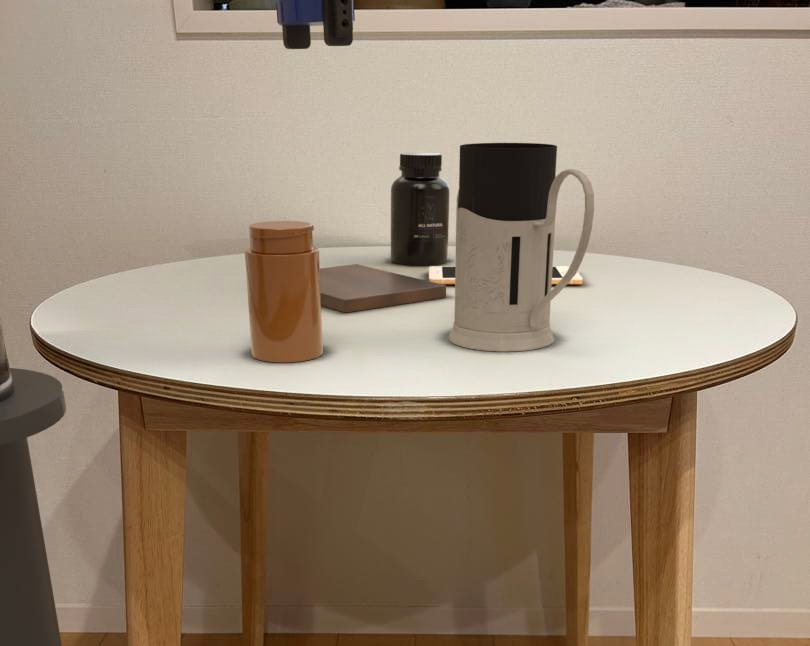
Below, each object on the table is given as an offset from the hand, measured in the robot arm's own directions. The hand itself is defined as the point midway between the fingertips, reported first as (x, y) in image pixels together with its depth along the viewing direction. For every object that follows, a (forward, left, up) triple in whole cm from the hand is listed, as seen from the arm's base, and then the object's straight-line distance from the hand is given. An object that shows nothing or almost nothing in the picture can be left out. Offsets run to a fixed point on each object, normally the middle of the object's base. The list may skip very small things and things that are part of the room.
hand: (317, 46), depth 80 cm
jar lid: (0, 0, +3) cm, 3 cm away
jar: (-8, -7, -22) cm, 25 cm away
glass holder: (+8, -17, -22) cm, 29 cm away
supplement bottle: (+27, +22, -22) cm, 41 cm away
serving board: (+10, +11, -22) cm, 26 cm away
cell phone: (+27, +7, -22) cm, 35 cm away
